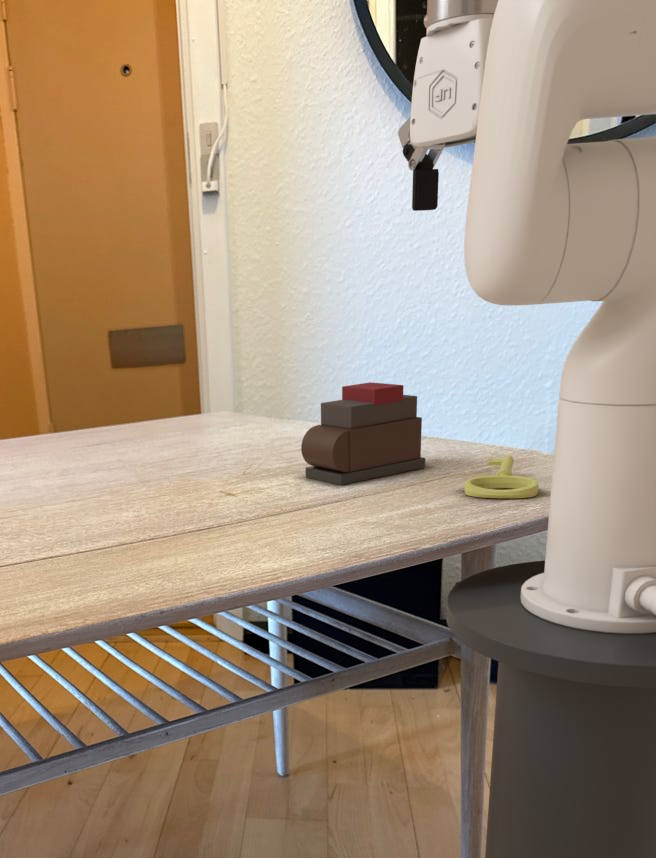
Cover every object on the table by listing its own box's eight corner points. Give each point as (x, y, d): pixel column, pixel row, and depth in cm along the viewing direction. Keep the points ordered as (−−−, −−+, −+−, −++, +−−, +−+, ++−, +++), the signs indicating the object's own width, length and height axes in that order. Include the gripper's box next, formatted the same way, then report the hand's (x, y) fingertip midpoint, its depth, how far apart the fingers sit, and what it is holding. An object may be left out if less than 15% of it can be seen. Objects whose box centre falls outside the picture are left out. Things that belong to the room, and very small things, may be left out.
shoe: (335, 486, 104) (334, 433, 102) (299, 478, 109) (298, 427, 107) (425, 467, 110) (427, 417, 108) (387, 460, 116) (388, 412, 113)
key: (511, 472, 104) (512, 454, 104) (543, 498, 93) (545, 477, 92) (446, 476, 105) (447, 457, 104) (471, 502, 94) (472, 481, 93)
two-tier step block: (351, 429, 104) (352, 392, 102) (320, 424, 108) (319, 389, 107) (417, 417, 108) (418, 382, 107) (384, 413, 113) (384, 380, 111)
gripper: (377, 33, 95) (374, 214, 102) (510, -16, 81) (498, 197, 87) (430, 37, 99) (425, 212, 105) (567, -9, 84) (551, 196, 91)
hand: (458, 205), depth 96 cm, fingers open, 9 cm apart
